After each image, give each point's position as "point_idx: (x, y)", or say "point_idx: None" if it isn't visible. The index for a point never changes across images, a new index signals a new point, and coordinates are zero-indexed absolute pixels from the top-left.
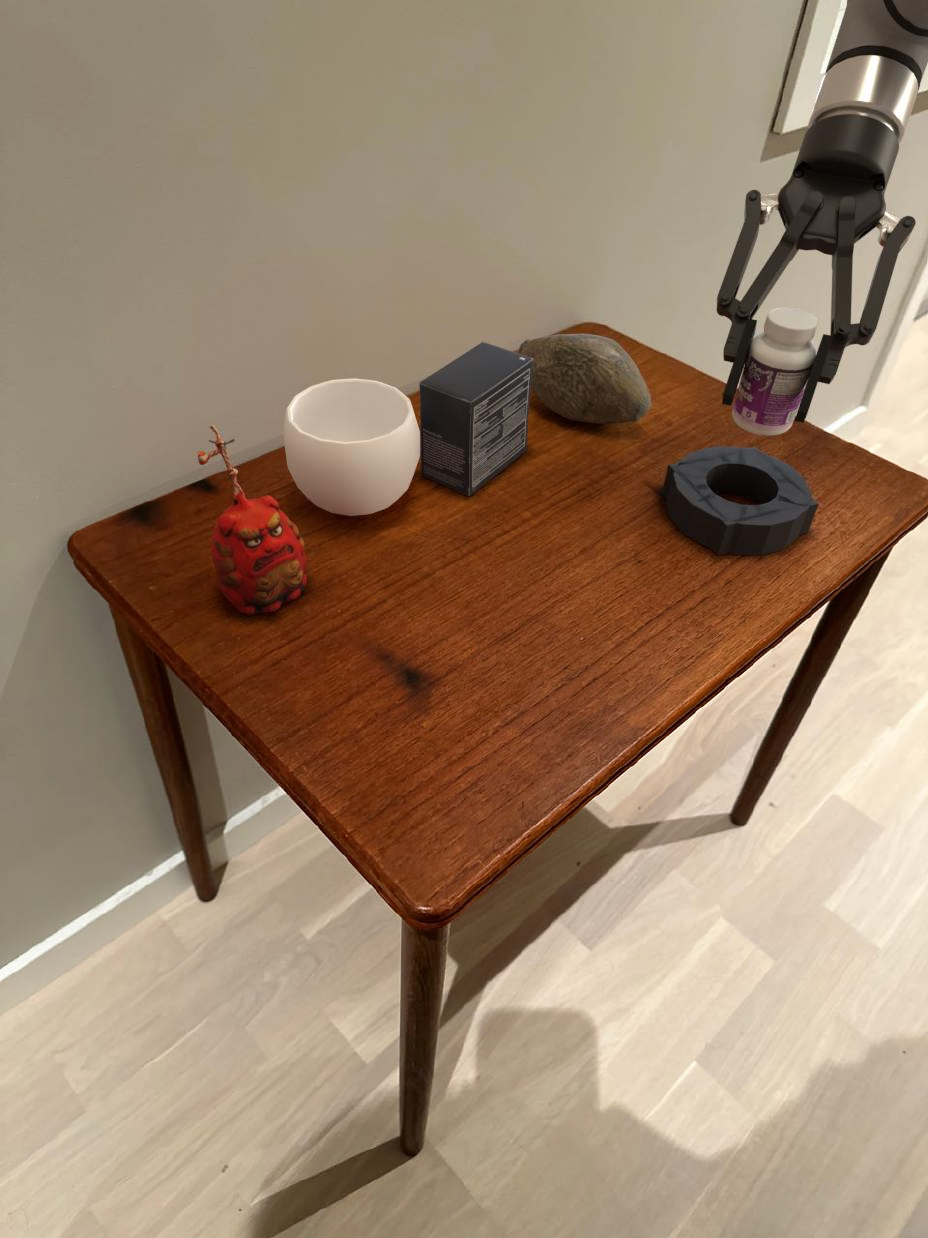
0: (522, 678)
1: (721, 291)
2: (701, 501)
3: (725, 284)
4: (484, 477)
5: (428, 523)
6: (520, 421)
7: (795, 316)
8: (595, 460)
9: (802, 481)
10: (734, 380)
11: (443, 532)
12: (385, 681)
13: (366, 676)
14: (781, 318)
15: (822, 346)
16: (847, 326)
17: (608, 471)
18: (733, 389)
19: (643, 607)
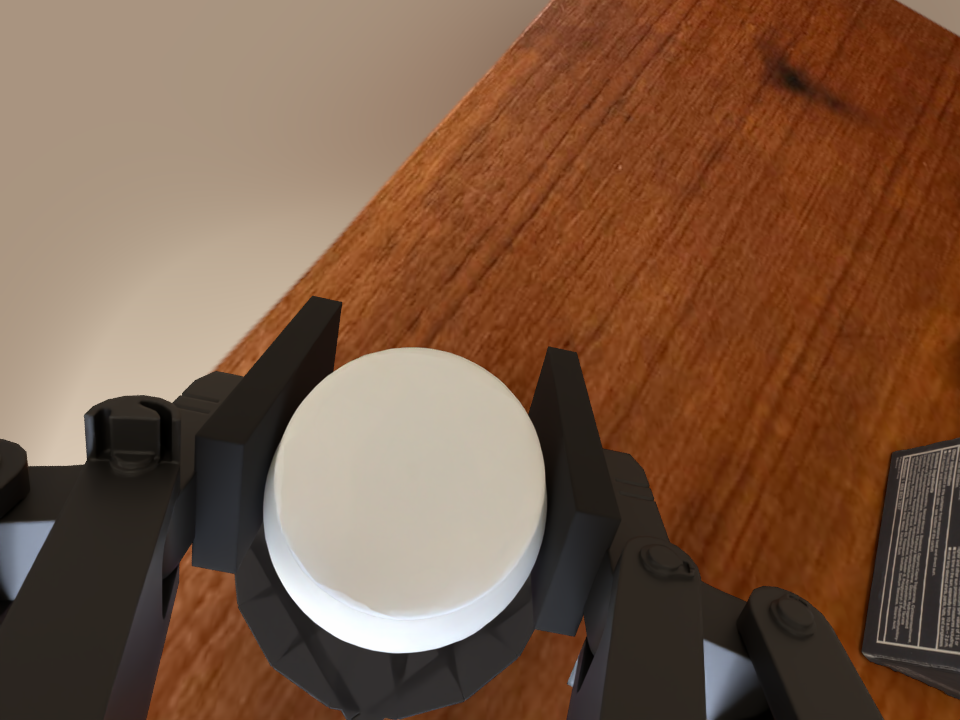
0: (673, 96)
1: (832, 650)
2: None
3: (846, 686)
4: (899, 491)
5: (916, 363)
6: (942, 624)
7: (399, 485)
8: None
9: (247, 588)
10: (560, 368)
11: (884, 346)
12: (817, 72)
13: (840, 76)
14: (476, 440)
15: (252, 409)
16: (113, 413)
17: None
18: (552, 355)
19: (545, 240)
